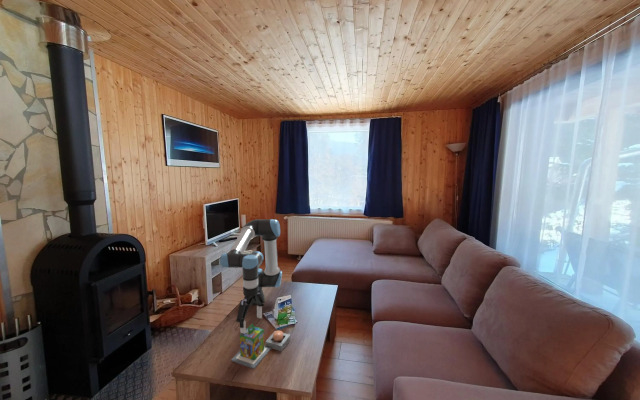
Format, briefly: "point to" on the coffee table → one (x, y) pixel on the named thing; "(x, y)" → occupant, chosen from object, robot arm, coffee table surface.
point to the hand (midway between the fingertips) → (251, 324)
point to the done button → (277, 335)
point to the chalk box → (252, 342)
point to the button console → (276, 345)
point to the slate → (250, 362)
